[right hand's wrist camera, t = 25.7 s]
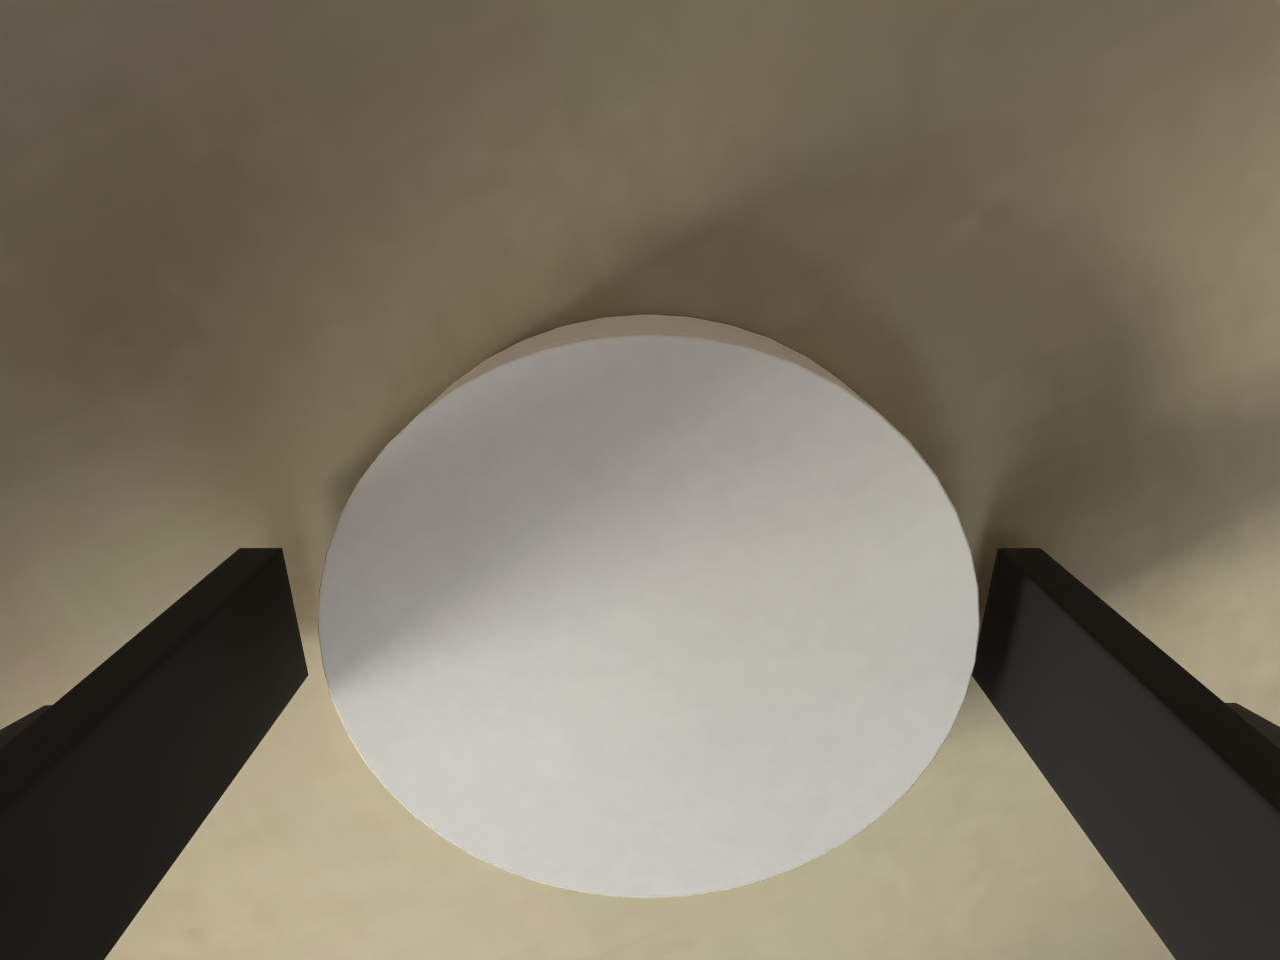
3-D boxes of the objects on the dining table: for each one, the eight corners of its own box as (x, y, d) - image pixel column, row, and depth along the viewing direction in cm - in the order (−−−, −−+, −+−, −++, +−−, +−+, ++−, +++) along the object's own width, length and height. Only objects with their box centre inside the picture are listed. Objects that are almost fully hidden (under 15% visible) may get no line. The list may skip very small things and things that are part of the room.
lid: (251, 458, 13) (177, 505, 11) (831, 204, 11) (873, 203, 9) (521, 866, 16) (505, 958, 14) (986, 718, 15) (1041, 798, 13)
